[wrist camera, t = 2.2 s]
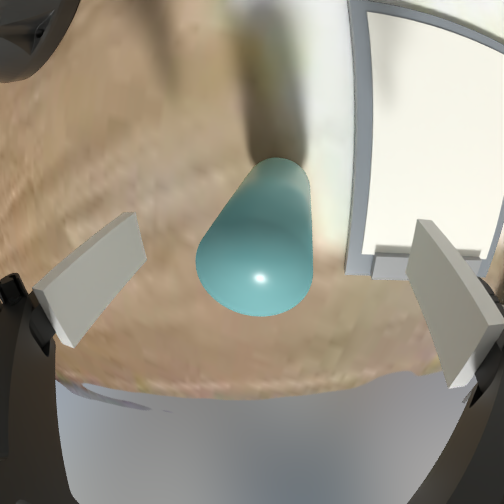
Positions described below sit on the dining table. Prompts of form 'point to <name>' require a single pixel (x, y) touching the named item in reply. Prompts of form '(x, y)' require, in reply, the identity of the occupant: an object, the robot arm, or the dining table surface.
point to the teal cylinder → (261, 242)
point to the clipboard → (423, 138)
